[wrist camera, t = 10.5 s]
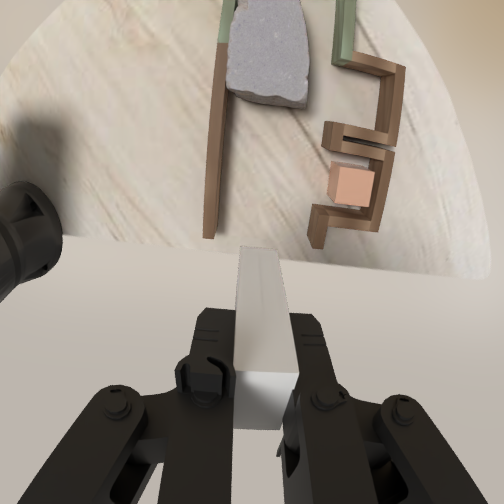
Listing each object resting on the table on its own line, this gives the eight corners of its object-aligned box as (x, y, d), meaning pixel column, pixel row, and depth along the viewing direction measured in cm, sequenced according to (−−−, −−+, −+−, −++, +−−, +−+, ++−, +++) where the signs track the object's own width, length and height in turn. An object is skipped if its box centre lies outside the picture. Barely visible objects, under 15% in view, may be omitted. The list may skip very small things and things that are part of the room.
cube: (326, 193, 34) (334, 203, 31) (331, 160, 33) (340, 166, 29) (357, 197, 34) (368, 207, 31) (362, 165, 33) (374, 172, 29)
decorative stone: (247, 126, 31) (331, 101, 29) (242, 128, 25) (347, 97, 23) (203, 18, 25) (285, -7, 24) (188, -2, 19) (289, -32, 17)
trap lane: (207, 225, 36) (202, 238, 32) (233, -33, 22) (231, -48, 18) (361, 240, 37) (371, 254, 33) (393, -2, 22) (407, -12, 19)
